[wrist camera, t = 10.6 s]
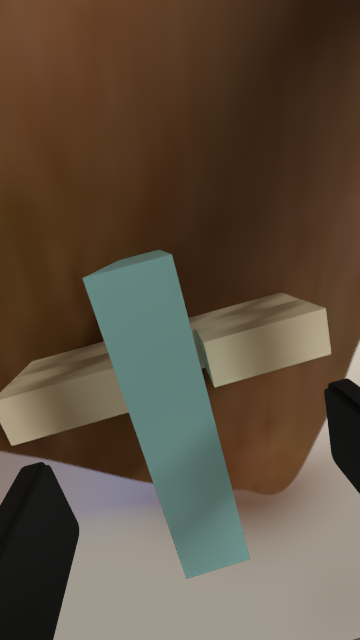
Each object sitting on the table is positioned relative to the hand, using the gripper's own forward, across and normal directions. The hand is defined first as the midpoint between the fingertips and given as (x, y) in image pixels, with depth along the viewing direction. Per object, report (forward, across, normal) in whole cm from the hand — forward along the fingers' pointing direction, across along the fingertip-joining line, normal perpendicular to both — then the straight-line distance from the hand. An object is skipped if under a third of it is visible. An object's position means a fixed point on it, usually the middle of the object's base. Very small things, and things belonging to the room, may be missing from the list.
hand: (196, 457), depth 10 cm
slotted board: (+14, +1, +1) cm, 14 cm away
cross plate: (+14, +1, +1) cm, 14 cm away
